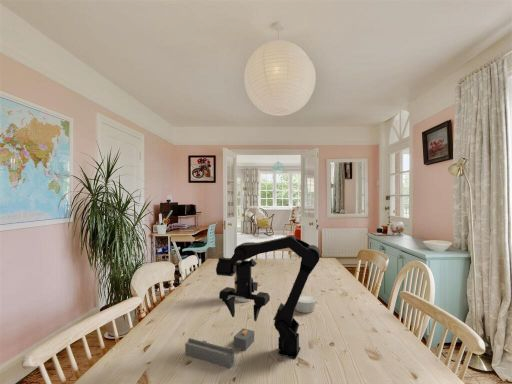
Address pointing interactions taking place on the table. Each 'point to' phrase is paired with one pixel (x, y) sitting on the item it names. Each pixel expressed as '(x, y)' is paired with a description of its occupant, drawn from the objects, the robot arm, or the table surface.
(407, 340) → the table surface
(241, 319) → the table surface
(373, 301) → the table surface
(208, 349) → the rail
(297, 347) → the robot arm
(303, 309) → the ramekin
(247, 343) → the block
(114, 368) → the table surface
